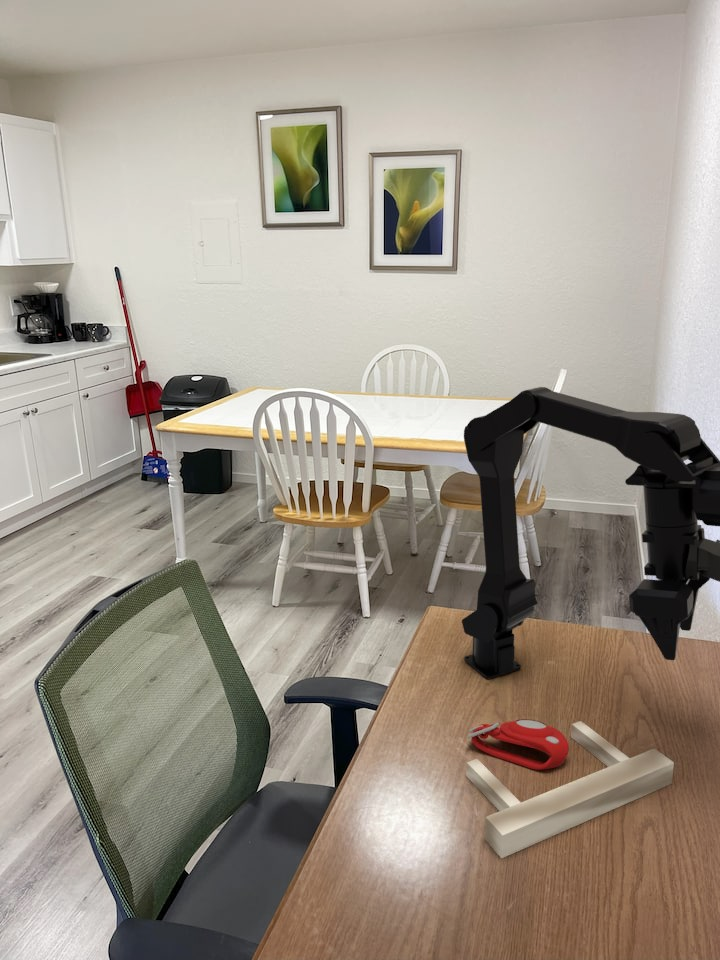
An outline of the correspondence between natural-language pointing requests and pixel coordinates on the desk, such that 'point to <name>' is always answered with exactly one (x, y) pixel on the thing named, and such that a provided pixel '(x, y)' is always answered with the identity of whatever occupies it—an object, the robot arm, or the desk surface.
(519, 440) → the robot arm
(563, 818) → the frame
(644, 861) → the desk surface
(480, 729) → the tracker holder
